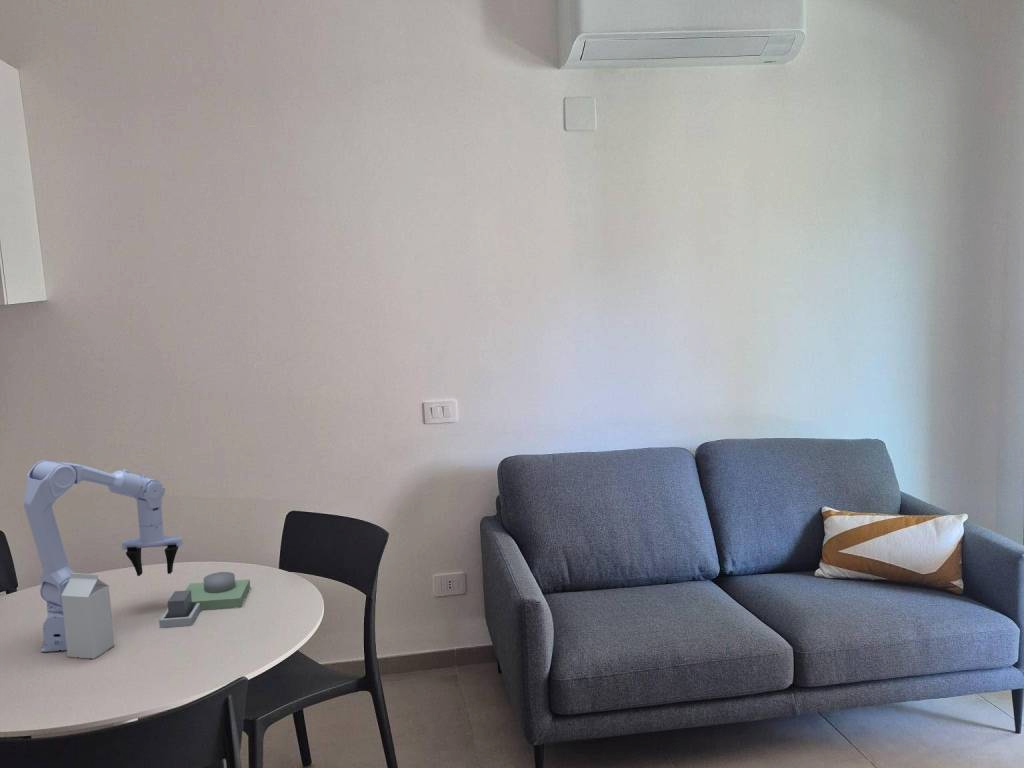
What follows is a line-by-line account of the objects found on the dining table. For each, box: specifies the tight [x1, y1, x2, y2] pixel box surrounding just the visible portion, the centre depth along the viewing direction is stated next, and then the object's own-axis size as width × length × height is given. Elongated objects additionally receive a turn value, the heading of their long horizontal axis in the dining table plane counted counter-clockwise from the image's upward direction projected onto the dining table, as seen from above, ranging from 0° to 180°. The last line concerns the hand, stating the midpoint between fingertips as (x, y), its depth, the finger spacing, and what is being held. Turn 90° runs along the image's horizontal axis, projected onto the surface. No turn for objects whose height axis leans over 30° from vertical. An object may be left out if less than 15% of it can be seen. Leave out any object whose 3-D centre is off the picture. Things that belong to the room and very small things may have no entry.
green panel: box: [158, 571, 251, 629], centre depth 223 cm, size 24×18×6 cm
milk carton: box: [61, 572, 115, 660], centre depth 197 cm, size 7×7×19 cm
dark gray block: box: [167, 590, 192, 618], centre depth 216 cm, size 7×4×6 cm, turn 7°
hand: (155, 573), depth 223 cm, fingers open, 7 cm apart
